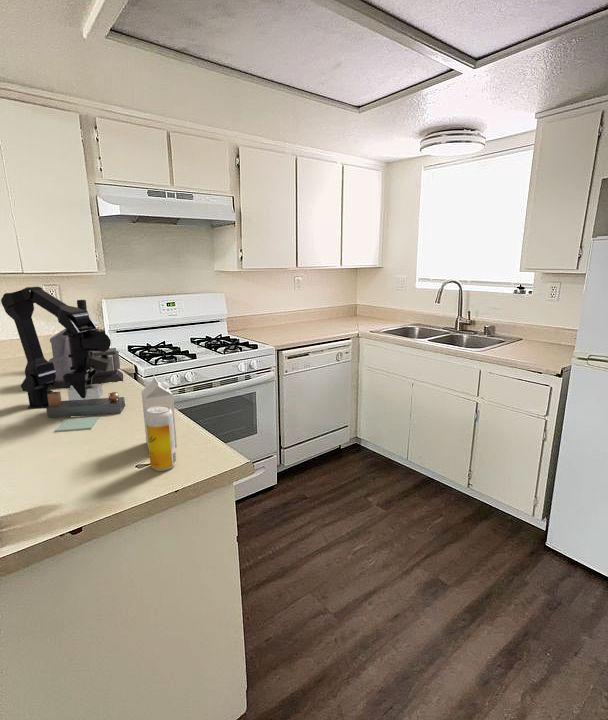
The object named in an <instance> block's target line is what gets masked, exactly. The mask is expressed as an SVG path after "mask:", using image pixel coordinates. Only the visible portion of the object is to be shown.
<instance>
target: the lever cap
mask: <svg viewBox="0 0 608 720" xmlns="http://www.w3.org/2000/svg"><path fill="white" fill-rule="evenodd" d="M102 384H103V383H102ZM102 384H91V385H86V397H85V398H81V397H80V395H79V394H78V393H77V391H76V390H75V389H74V387H73V386H72V385H71V386H70V388H67V397H68V400H83V399H99V398H102V396H103V393H104V392H103V385H102Z"/></svg>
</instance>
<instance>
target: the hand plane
mask: <svg viewBox="0 0 608 720" xmlns="http://www.w3.org/2000/svg"><path fill="white" fill-rule="evenodd" d="M47 396H48V403H49V407H45V408H46V409H45V410H46V415H47V419H48V418H52V419H60V418H59V417H66V418H72V417H71V416H80V417H92V416H93V417H95V416H106V415H117V414H120V413H121V412H123V411H124V409H125V408H124V407H126V403H125V397H124V396H120V395H119V392H116V391H113V392H109V393H108V395H107V396H108V397H105V398H102V397H100V398H99V399H83V400H69V399H68V400H62V395H61V391H53V392H50V393H48V394H47ZM121 414H122V413H121Z"/></svg>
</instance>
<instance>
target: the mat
mask: <svg viewBox="0 0 608 720" xmlns="http://www.w3.org/2000/svg"><path fill="white" fill-rule="evenodd" d="M99 419H100V417H99V416H93V417H92V416H89V417H79V418H77V417H75V418H67V419H66V418H65V419H64V420H63V421H62V422H61V423H60V424H59V425H58V426H57V427H56V428H55V429H54V433H58V432H59V433H60V432H61V431H62V432H73V430H75V431H84V430H85V431H87V430H92V429H93V428H94V426H95V425H96V424H97V422H98V421H97V420H99Z"/></svg>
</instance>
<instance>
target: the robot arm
mask: <svg viewBox="0 0 608 720" xmlns="http://www.w3.org/2000/svg"><path fill="white" fill-rule="evenodd" d="M0 299H1V300H0V302H1V306H2V307H3V309H4V311H5V313H6V315H8V316H9V317H10V318H11V319H12V320H13V321H14V323H15V327H16V331H17V333H18V336H19V339H20V343H21V345H22V349H23V353H24V355H25V359H26V362H27V363H26V366H25V369H24V375H25V377H24V379H23V381H22V383H21V384H20V388H21V390H22V392H27V398H28V403H29V405H28V406H27V409H39V408H41V409H43V408H47V407H49V403H48V396H47V394H48V393H50V392H54V391H53V390H52V389H51V387H50V386H54V384H55V378H56V371H55V369H54V364H53V363H52V362H48V361H49V360H48V359H46V358H45V356H44V354H43V353H44V352H43V350H42V347H41V343H40V341H39V337H38V334H37V330H36V328H35V324H34V320H33V318H32V316H33V314H34V310H35V305H34V304H36V305H38V306H39V307H40V308H42V309H43V310H45V311H46V312H48V313H49V314H52V315H53V316H55V317H56V318H57V321H58V323H59V324H60V325H61V326H62V327H64V329H66V331H65V332H64V333H63V335H64V336H68V340H69V347H70V354H68V356H69V358H71V362H72V366H71V367H70V370H75V371H68V372H67V373H66V374H65V375H64V376H63V381H64V383H69V382H70V384H71V385H72V386H73V387H74V389H75V390H76V391H77V393H78V394H79V395H80V397H81V398H85V397H86V385H91V384H92V378H93V375H94V374H95V373H96V372H97V371H98V370H101V371H104V372H106V371H107V370H108V369H109V366H110V363H111V359H109V356H108V354H105V353H104V354H103V355H102V356H101V357H99V356H94V355H93V352H92V351H99V352H105V351H107V350H108V349H109V348H110V347H111V344H112V343H111V341H112V340H111V339H110V337H109V335H108V334H105V330H104V329H99V330H98V328H97V327H96V325H97V324H96V323H95V322H94V321H93V319H92V318H91V317H90V315H89V312H88V313H87V312H86V311H85V310H82V309H80V308H77V307H76V306H71V305H67V304H66V303H65V302H63V301H61V300H59V299H58V298H57V297H55V296H54V295H52V294H50V293H49V292H48V291H45V290H44V288H42V287H41V286H26V287H25V288H24V287H23V289H20V290H17V291H13V292H5V293H4V294H3V295H2V297H1V298H0ZM79 328H80V329H79ZM93 368H94V369H98V370H93Z"/></svg>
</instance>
